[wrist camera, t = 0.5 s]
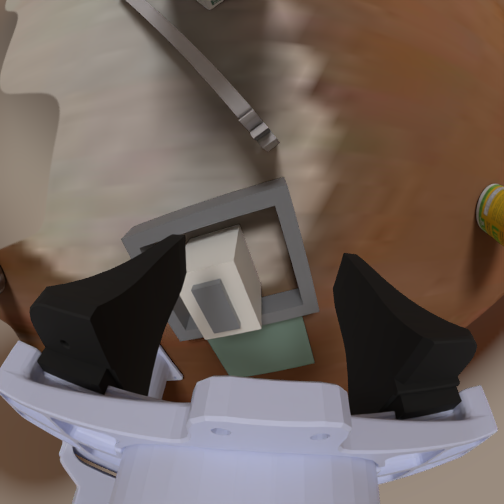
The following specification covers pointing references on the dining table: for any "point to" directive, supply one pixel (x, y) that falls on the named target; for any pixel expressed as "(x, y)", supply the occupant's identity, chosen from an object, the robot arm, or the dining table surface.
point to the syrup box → (209, 3)
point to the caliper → (209, 75)
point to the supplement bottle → (492, 212)
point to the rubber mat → (265, 349)
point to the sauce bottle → (2, 281)
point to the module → (222, 284)
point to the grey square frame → (224, 209)
